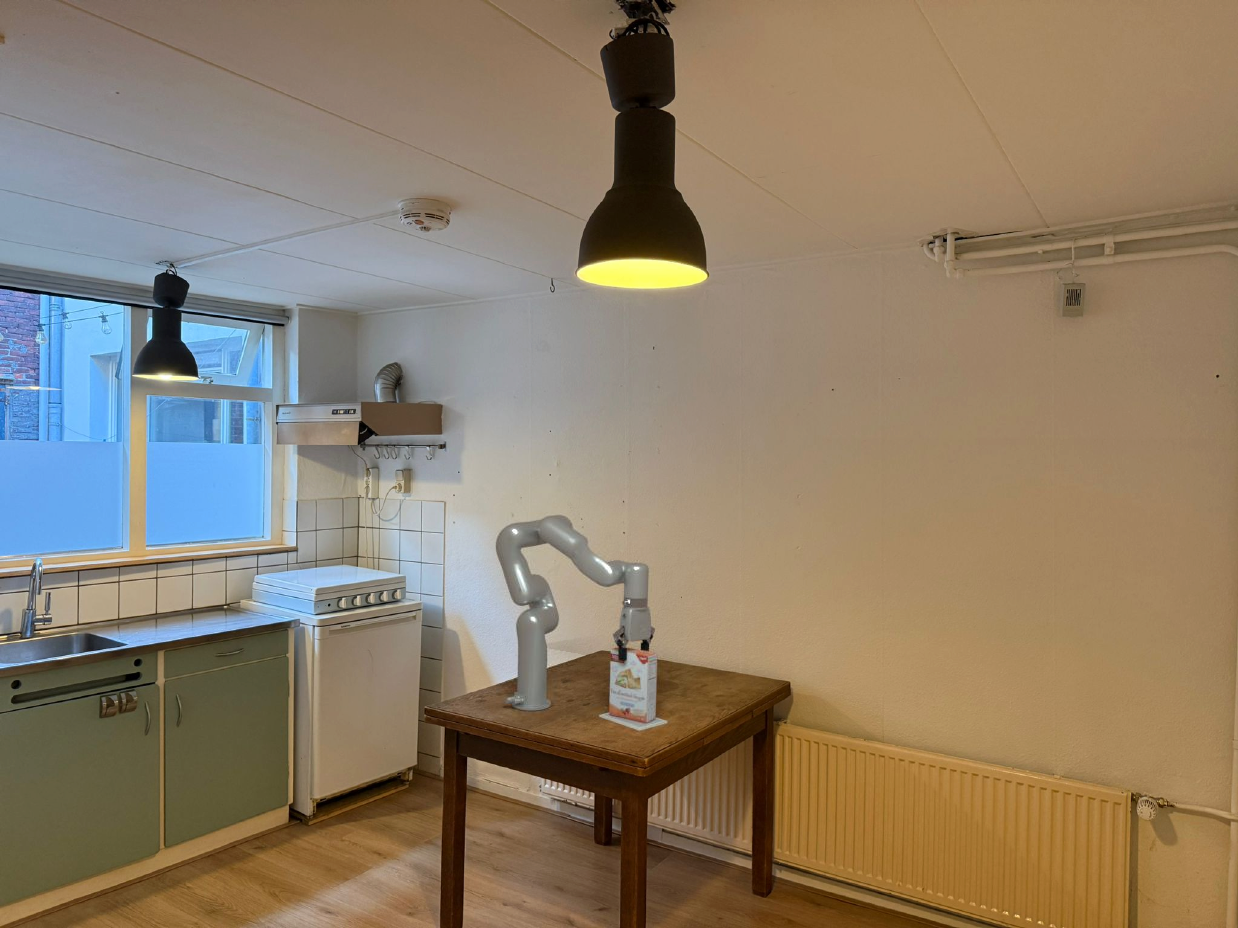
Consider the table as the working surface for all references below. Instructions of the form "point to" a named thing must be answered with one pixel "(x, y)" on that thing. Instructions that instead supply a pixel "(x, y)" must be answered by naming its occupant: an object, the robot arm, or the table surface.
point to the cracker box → (633, 685)
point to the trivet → (633, 722)
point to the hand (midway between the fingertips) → (633, 657)
